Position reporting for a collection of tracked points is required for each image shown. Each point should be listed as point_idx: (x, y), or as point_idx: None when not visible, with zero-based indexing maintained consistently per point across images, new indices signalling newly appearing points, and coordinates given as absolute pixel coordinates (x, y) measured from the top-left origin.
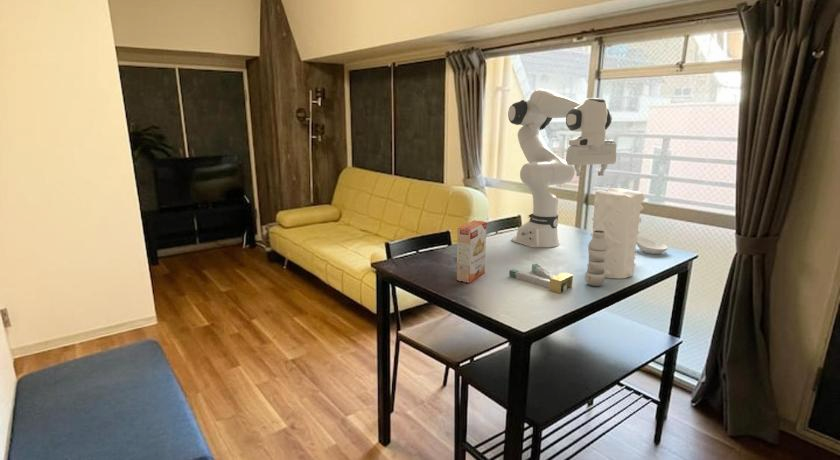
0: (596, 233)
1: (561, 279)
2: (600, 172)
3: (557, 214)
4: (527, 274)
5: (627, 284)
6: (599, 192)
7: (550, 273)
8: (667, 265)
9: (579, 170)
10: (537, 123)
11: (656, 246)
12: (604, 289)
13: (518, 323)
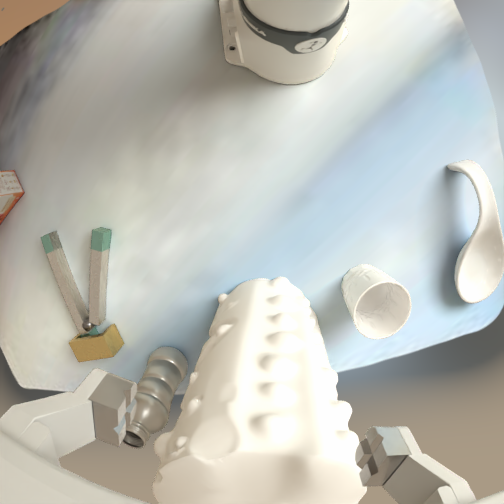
0: None
1: (83, 359)
2: (360, 478)
3: (342, 16)
4: (59, 277)
5: None
6: (156, 486)
7: (98, 299)
8: (412, 347)
9: (73, 445)
10: None
11: (493, 262)
12: None
13: (19, 373)
